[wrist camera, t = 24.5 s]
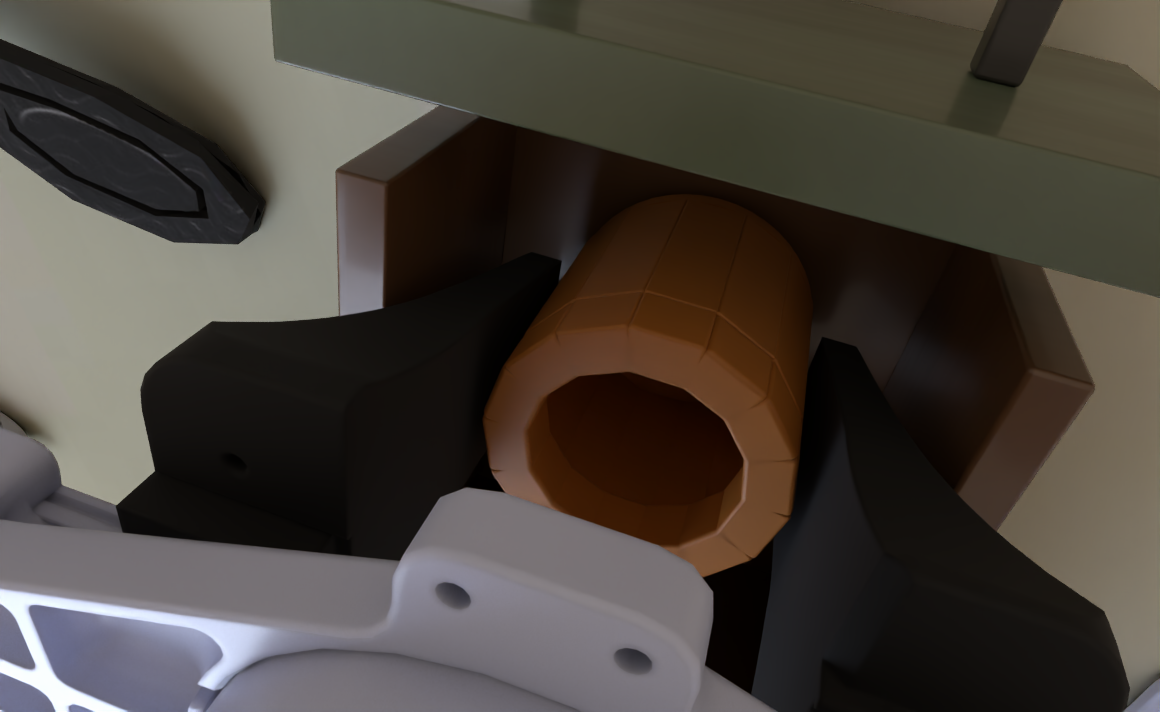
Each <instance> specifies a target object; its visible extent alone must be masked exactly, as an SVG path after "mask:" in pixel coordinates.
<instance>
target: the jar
mask: <svg viewBox="0 0 1160 712" xmlns="http://www.w3.org/2000/svg"><path fill="white" fill-rule="evenodd" d="M812 316H813V301H812V297H811V291H810V285H809V282H808V279H807V276H806V272H805V270H804V268H803V266H802V264H801V262H800V260H799V258H798V256H797V254H796V253H795V252H794V250H793V249H792V247H791V246H790V244H789V243H788V242H787V241H786V240H785V239H784V237H783V236H782V235H781V234H780V233H779V232H778V231H777V230H776V229H775V228H773V227H772V226H771V225H770V224H769V223H768V222H766V221H765V220H764V219H762V218H760V217H759V216H757V215H756V214H754V213H753V212H751V211H749V210H747V209H745V208H743V207H741V206H739V205H737V204H734V203H731V202H728V201H725V200H722V199H719V198H714V197H709V196H704V195H692V194H677V195H666V196H661V197H655V198H651V199H648V200H645V201H642V202H639V203H637V204H635V205H633V206H630V207H628V208H626V209H624V210H623V211H621V212H620V213H618V214H617V215H615V216H614V217H612V218H611V219H610V220H609V221H608V222H607V223H606V224H604V225H603V226H602V227H601V228H600V230H599V231H598V232H597V233H596V234H595V235H593V236H592V237H591V238H590V239H589V240H588V241H587V243H586V244H585V245H584V247H583V248H582V250H581V251H580V253H579V254H578V256H577V257H576V259H575V260H574V262H573V263H572V265H571V266H570V268H569V269H568V270H567V272H566V273H565V275H564V276H563V278H562V279H561V281H560V282H559V284H558V285H557V287H556V288H555V290H554V291H553V292H552V294H551V295H550V297H549V298H548V300H547V301H546V303H545V304H544V306H543V307H542V309H541V310H540V312H539V313H538V315H537V316H536V317H535V319H534V320H533V322H532V323H531V325H530V326H529V328H528V329H527V331H526V332H525V334H524V336H523V339H521V340H520V342H519V343H518V345H517V346H516V348H515V349H514V351H513V352H512V354H511V355H510V357H509V358H508V360H507V361H506V362H505V364H504V365H503V367H502V369H501V371H500V373H499V375H498V378H497V380H496V382H495V385H494V387H493V389H492V392H491V394H490V396H489V399H488V401H487V403H486V405H485V408H484V415H483V418H482V421H483V427H484V434H485V440H486V447H487V454H488V460H489V466H490V468H491V469H492V474H493V475H494V477H495V478H496V480H497V481H498V483H499V484H500V486H501V487H502V489H503V490H504V492H505V493H506V494H509V495H512V496H515V497H518V498H521V499H524V500H527V501H530V502H533V503H536V504H539V505H542V506H545V507H547V508H550V509H553V510H556V511H559V512H562V513H565V514H568V515H571V516H574V517H577V518H580V519H583V520H586V521H589V522H592V523H594V524H597V525H600V526H603V527H606V528H609V529H612V530H615V531H618V532H621V533H624V534H627V535H630V536H633V537H636V538H638V539H641V540H644V541H647V542H650V543H653V544H656V545H659V546H661V547H662V548H664V549H666V550H668V551H669V552H671V553H673V554H675V555H677V556H678V557H680V558H682V559H684V560H686V561H687V562H689V563H691V564H692V565H693V566H694V567H695V568H696V570H697V571H698V572H699V574H700V575H701V576H702V578H703V577H706V576H709V575H711V574H714V573H717V572H720V571H722V570H725V569H728V568H731V567H733V566H736V565H739V564H742V563H745V562H747V561H750V560H751V559H752V558H755V557H757V556H758V554H759V553H760V552H761V551H762V550H763V549H764V548H765V547H766V546H767V544H768V543H769V542H770V541H771V540H772V539H773V538H774V537H775V535H776V534H777V533H778V532H779V531H780V530H781V529H782V528H783V526H784V525H785V524H786V523H787V522H788V521H789V520H790V518H791V513H792V512H793V509H794V501H795V493H796V485H797V477H798V468H799V460H800V449H801V437H802V425H803V416H804V405H805V394H806V383H807V372H808V360H809V349H810V338H811V327H812Z"/></svg>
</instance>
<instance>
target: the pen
mask: <svg viewBox="0 0 1160 712" xmlns="http://www.w3.org/2000/svg"><path fill="white" fill-rule="evenodd" d="M0 427H2V428H4V429H7V430H10V431H13V432H15V433H18V434H21V435H24V436H26V437H28V436H27V435H26V433H25V432H24V431H23V430H22V429H21V428H20V427H19V426H18V425H17V424H16V423H15V422H14V421H12V420H11V419H10V418H8V417H7V416H6V415H4V414H3V413H1V412H0Z"/></svg>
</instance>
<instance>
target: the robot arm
mask: <svg viewBox="0 0 1160 712" xmlns="http://www.w3.org/2000/svg"><path fill="white" fill-rule="evenodd" d="M561 263H562V261H561V260H558V259H554V258H551V257H548V256H544V255H541V254H537V253H534V252H530V253H527V254H525V255H522V256H520V257H518V258H515V259H513V260H511V261H509V262H507V263H505V264H503V265H500V266H498V267H496V268H494V269H492V270H489V271H487V272H485V273H483V274H480V275H478V276H476V277H474V278H471V279H469V280H467V281H464V282H462V283H459V284H457V285H454V286H451V287H449V288H446V289H443V290H441V291H438V292H435V293H433V294H430V295H427V296H424V297H421V298H418V299H415V300H412V301H408V302H405V303H401V304H397V305H393V306H389V307H385V308H381V309H377V310H372V311H366V312H360V313H354V314H348V315H342V316H336V317H330V318H321V319H311V320H299V321H283V322H215V321H212V322H211V323H209V324H208V325H206V326H205V327H204V328H202V329H201V330H200V331H198V332H197V333H195V334H194V335H193V336H191V337H190V338H189V339H187V340H186V341H185V342H183V343H182V344H180V345H179V346H178V347H176V348H175V349H174V350H172V351H171V352H170V353H168V354H167V355H165V356H164V357H163V358H161V359H160V360H159V361H157V362H156V363H155V364H154V365H153V366H152V367H151V368H150V369H149V370H148V372H147V373H146V374H145V376H144V379H143V383H142V386H141V390H140V391H141V404H142V412H143V417H144V421H145V426H146V431H147V435H148V440H149V444H150V449H151V453H152V458H153V463H154V467H155V472H154V473H152V474H151V475H150V476H149V477H148V478H147V479H146V480H145V481H143V482H142V483H141V484H140V485H139V486H138V487H137V488H136V489H134V490H133V491H132V492H131V493H130V494H129V495H128V496H127V497H125V498H124V499H123V500H122V501H121V502H120V503H119V504H118V505H114V504H111V503H109V502H106V501H103V500H101V499H98V498H95V497H93V496H90V495H87V494H85V493H82V492H79V491H76V490H74V489H71V488H68V487H66V486H63V485H62V484H61V475H60V469H59V466H58V463H57V461H56V459H55V457H54V455H53V454H52V452H51V451H50V450H49V449H47V448H46V447H45V446H44V445H43V444H41V443H40V442H38V441H36V440H34V439H32V438H29V437H26V436H24V435H21V434H18V433H15V432H13V431H10V430H7V429H4V428H2V427H0V712H1160V678H1159V679H1158V680H1156V681H1155V682H1154V683H1153V684H1152V685H1151V686H1150V687H1148V688H1147V689H1146V690H1145V691H1144V692H1143V693H1142V694H1141V695H1140V696H1139V697H1138V698H1137V699H1136V700H1135V701H1134V702H1133V703H1132V704H1131V705H1130V706H1128V707H1127V708H1126V706H1127V701H1128V696H1129V690H1130V687H1129V684H1128V680H1127V677H1126V673H1125V670H1124V666H1123V663H1122V659H1121V656H1120V653H1119V650H1118V646H1117V643H1116V640H1115V637H1114V635H1113V632H1112V630H1111V627H1110V624H1109V622H1108V619H1107V617H1106V615H1105V612H1104V611H1103V610H1102V609H1100V608H1099V607H1097V606H1096V605H1094V604H1093V603H1091V602H1090V601H1088V600H1087V599H1085V598H1084V597H1082V596H1081V595H1080V594H1078V593H1077V592H1075V591H1074V590H1072V589H1071V588H1069V587H1068V586H1066V585H1065V584H1063V583H1062V582H1060V581H1059V580H1057V579H1056V578H1055V577H1053V576H1052V575H1050V574H1049V573H1047V572H1046V571H1045V570H1043V569H1042V568H1041V567H1039V566H1038V565H1037V564H1036V563H1034V562H1033V561H1032V560H1031V559H1029V558H1028V557H1027V556H1025V555H1024V554H1023V553H1022V552H1020V551H1019V550H1018V549H1017V548H1015V547H1014V546H1013V545H1012V544H1010V543H1009V542H1008V541H1007V540H1006V539H1005V538H1003V537H1002V536H1001V535H1000V534H999V533H998V532H996V531H995V530H994V529H993V528H992V527H991V526H990V525H989V524H988V523H987V522H986V521H985V520H983V519H982V518H981V517H980V516H979V515H978V514H977V513H976V512H975V511H974V510H973V509H972V508H971V507H970V506H969V505H968V504H967V503H966V502H965V501H964V500H963V499H962V498H961V497H960V496H959V495H958V494H957V493H956V492H955V491H954V490H953V489H952V488H951V487H950V485H949V484H948V483H947V482H946V481H945V480H944V479H943V477H942V476H941V475H940V474H939V473H938V472H937V471H936V469H935V468H934V467H933V466H932V465H931V463H930V462H929V461H928V460H927V458H926V457H925V456H924V455H923V453H922V452H921V451H920V449H919V448H918V447H917V445H916V444H915V442H914V441H913V440H912V438H911V437H910V435H909V434H908V433H907V431H906V430H905V428H904V427H903V425H902V424H901V422H900V421H899V419H898V418H897V416H896V415H895V413H894V411H893V410H892V408H891V407H890V405H889V403H888V402H887V400H886V398H885V397H884V395H883V393H882V391H881V390H880V388H879V386H878V384H877V383H876V381H875V379H874V377H873V375H872V374H871V372H870V370H869V368H868V366H867V364H866V363H865V361H864V359H863V357H862V355H861V353H860V352H859V350H858V348H857V347H856V346H853V345H850V344H846V343H843V342H839V341H836V340H832V339H829V338H826V337H822V338H821V341H820V343H819V345H818V348H817V350H816V353H815V355H814V357H813V360H812V362H811V365H810V367H809V369H808V372H807V383H806V394H805V405H804V416H803V425H802V437H801V449H800V460H799V468H798V477H797V485H796V493H795V501H794V509H793V512H792V513H791V518H790V520H789V521H788V522H787V523H786V524H785V525H784V526H783V528H782V529H781V530H780V531H779V532H778V533H777V534H776V535H775V537H774V540H773V561H772V574H771V584H770V592H769V598H768V604H767V610H766V615H765V621H764V627H763V633H762V639H761V644H760V650H759V655H758V661H757V666H756V672H755V677H754V683H753V688H752V693H751V694H749V693H747V692H746V691H744V690H743V689H741V688H740V687H738V686H736V685H735V684H733V683H732V682H730V681H729V680H727V679H725V678H724V677H722V676H721V675H719V674H718V673H716V672H714V671H713V670H711V669H710V668H708V667H707V666H705V661H706V655H707V650H708V645H709V639H710V634H711V628H712V623H713V591H712V590H711V589H710V587H709V586H708V584H707V583H706V582H705V580H704V579H703V578H702V576H701V575H700V574H699V572H698V571H697V570H696V568H695V567H694V566H693V565H692V564H691V563H689V562H687V561H686V560H684V559H682V558H680V557H678V556H677V555H675V554H673V553H671V552H669V551H668V550H666V549H664V548H662V547H661V546H659V545H656V544H653V543H650V542H647V541H644V540H641V539H638V538H636V537H633V536H630V535H627V534H624V533H621V532H618V531H615V530H612V529H609V528H606V527H603V526H600V525H597V524H594V523H592V522H589V521H586V520H583V519H580V518H577V517H574V516H571V515H568V514H565V513H562V512H559V511H556V510H553V509H550V508H547V507H545V506H542V505H539V504H536V503H533V502H530V501H527V500H524V499H521V498H518V497H515V496H512V495H509V494H506V493H503V492H496V491H489V490H481V489H474V488H467V487H466V488H463V487H464V485H465V483H466V482H467V480H468V478H469V477H470V475H471V473H472V472H473V470H474V468H475V467H476V465H477V464H478V462H479V461H480V459H481V458H482V456H483V455H484V454H485V452H486V451H487V447H486V440H485V434H484V427H483V421H482V418H483V415H484V408H485V405H486V403H487V401H488V399H489V396H490V394H491V392H492V389H493V387H494V385H495V382H496V380H497V378H498V375H499V373H500V371H501V369H502V367H503V365H504V364H505V362H506V361H507V360H508V358H509V357H510V355H511V354H512V352H513V351H514V349H515V348H516V346H517V345H518V343H519V342H520V340H521V339H523V336H524V334H525V332H526V331H527V329H528V328H529V326H530V325H531V323H532V322H533V320H534V319H535V317H536V316H537V315H538V313H539V312H540V310H541V309H542V307H543V306H544V304H545V303H546V301H547V300H548V298H549V297H550V295H551V294H552V292H553V291H554V290H555V288H556V287H557V285H558V281H559V275H560V269H561ZM1125 708H1126V709H1125Z"/></svg>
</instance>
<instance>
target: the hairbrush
mask: <svg viewBox="0 0 1160 712" xmlns="http://www.w3.org/2000/svg"><path fill="white" fill-rule="evenodd" d="M0 147H1V148H2V149H3V150H5V151H6V152H7V153H9V154H10V155H12V156H13V157H14V158H16V159H17V160H18V161H20V162H21V163H23V164H24V165H25V166H27V167H28V168H29V169H31V170H32V171H34V172H35V173H36V174H38V175H39V176H40V177H42V178H43V179H45V180H46V181H47V182H49V183H50V184H52V185H53V186H54V187H56V188H57V189H58V190H60V191H61V192H63V193H64V194H65V195H67V196H68V197H69V198H71V199H72V200H75V201H77V202H79V203H82V204H84V205H86V206H89V207H91V208H93V209H96V210H98V211H101V212H103V213H105V214H108V215H110V216H112V217H115V218H117V219H120V220H122V221H124V222H127V223H129V224H131V225H134V226H136V227H138V228H141V229H143V230H146V231H148V232H150V233H153V234H155V235H157V236H160V237H162V238H165V239H167V240H169V241H172V242H180V243H213V244H239V243H240V242H242V241H243V240H244V239H246V238H247V237H248V236H250V235H251V234H253V233H254V232H256V231H258V229H259V225H260V221H261V217H262V214H263V210H264V206H265V201H264V200H263V199H262V198H261V196H260V195H259V194H258V193H257V192H256V190H255V189H254V188H253V187H252V186H251V185H250V183H249V182H248V181H247V180H246V179H245V177H244V176H243V175H242V174H241V173H240V172H239V170H238V169H237V168H236V167H235V166H234V164H233V163H232V162H231V161H230V160H229V159H228V157H227V156H226V155H225V154H224V153H223V151H222V150H221V149H220V148H219V147H218V146H217V144H215V143H213V142H212V141H210V140H208V139H207V138H205V137H203V136H201V135H200V134H198V133H196V132H194V131H193V130H191V129H189V128H187V127H186V126H184V125H182V124H180V123H179V122H177V121H175V120H173V119H172V118H170V117H168V116H166V115H165V114H163V113H161V112H160V111H158V110H156V109H154V108H153V107H151V106H149V105H147V104H146V103H144V102H142V101H140V100H139V99H137V98H135V97H133V96H132V95H130V94H128V93H126V92H125V91H123V90H121V89H119V88H118V87H115V86H113V85H110V84H108V83H106V82H103V81H101V80H98V79H96V78H93V77H91V76H89V75H86V74H84V73H81V72H79V71H77V70H74V69H72V68H69V67H67V66H64V65H62V64H60V63H57V62H55V61H52V60H50V59H48V58H45V57H43V56H40V55H38V54H35V53H33V52H31V51H28V50H26V49H23V48H21V47H19V46H16V45H14V44H11V43H9V42H7V41H4V40H2V39H0Z"/></svg>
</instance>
